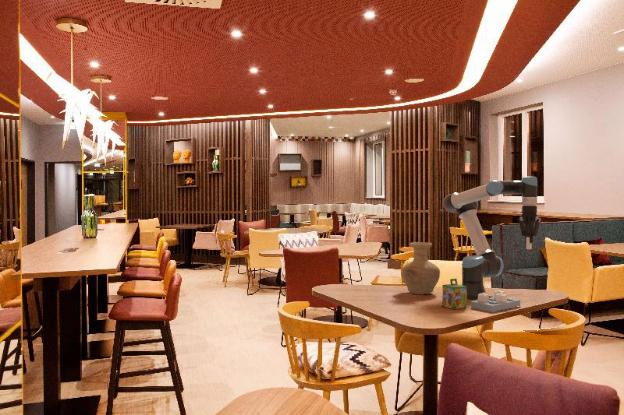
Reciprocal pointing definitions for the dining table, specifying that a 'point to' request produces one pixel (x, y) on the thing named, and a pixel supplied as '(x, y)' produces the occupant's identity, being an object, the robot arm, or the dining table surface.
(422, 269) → the vase
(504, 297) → the tab
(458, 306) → the chalk box
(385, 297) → the dining table surface
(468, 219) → the robot arm
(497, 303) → the switch bank
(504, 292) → the tab
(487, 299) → the tab
